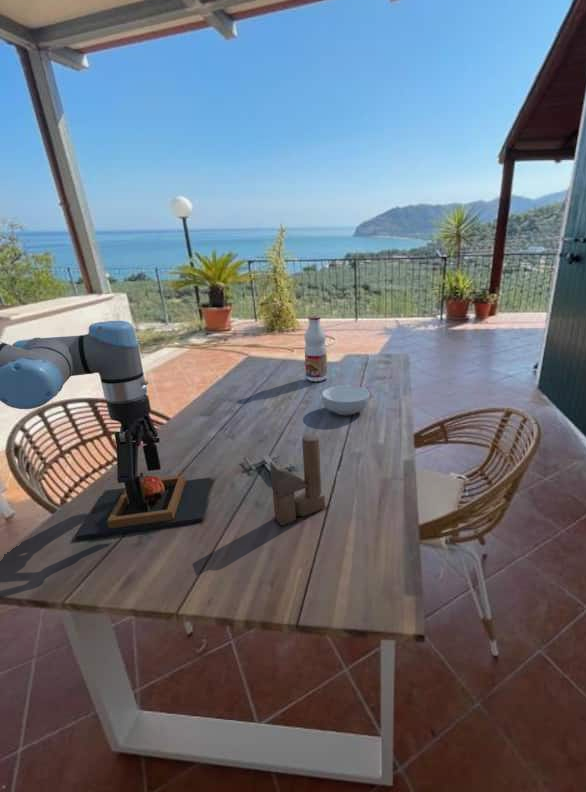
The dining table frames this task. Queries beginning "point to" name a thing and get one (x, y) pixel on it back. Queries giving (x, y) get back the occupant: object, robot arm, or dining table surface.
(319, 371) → the fruit juice
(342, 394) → the cereal bowl
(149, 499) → the red round lump
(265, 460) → the clamp
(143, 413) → the robot arm
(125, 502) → the back pad
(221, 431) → the dining table surface
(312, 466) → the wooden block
